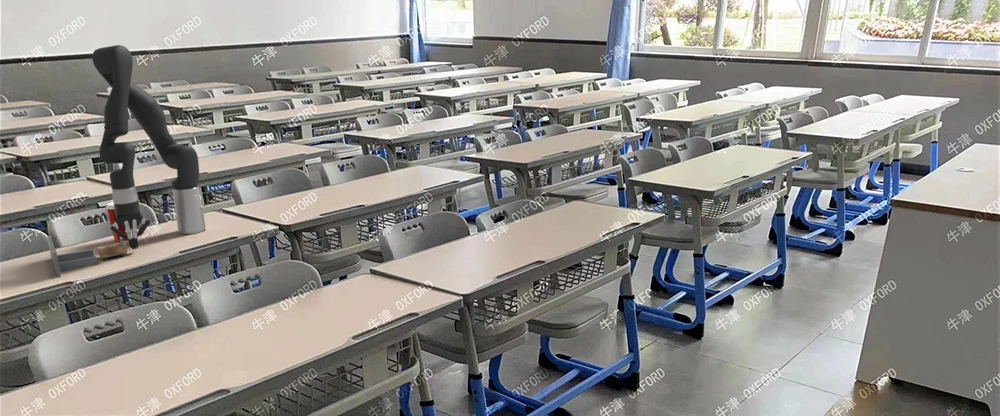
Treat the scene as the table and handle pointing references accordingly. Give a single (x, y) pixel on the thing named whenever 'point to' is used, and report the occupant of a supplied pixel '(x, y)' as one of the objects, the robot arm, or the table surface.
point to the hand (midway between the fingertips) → (134, 248)
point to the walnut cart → (113, 249)
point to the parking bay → (70, 258)
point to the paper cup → (112, 220)
